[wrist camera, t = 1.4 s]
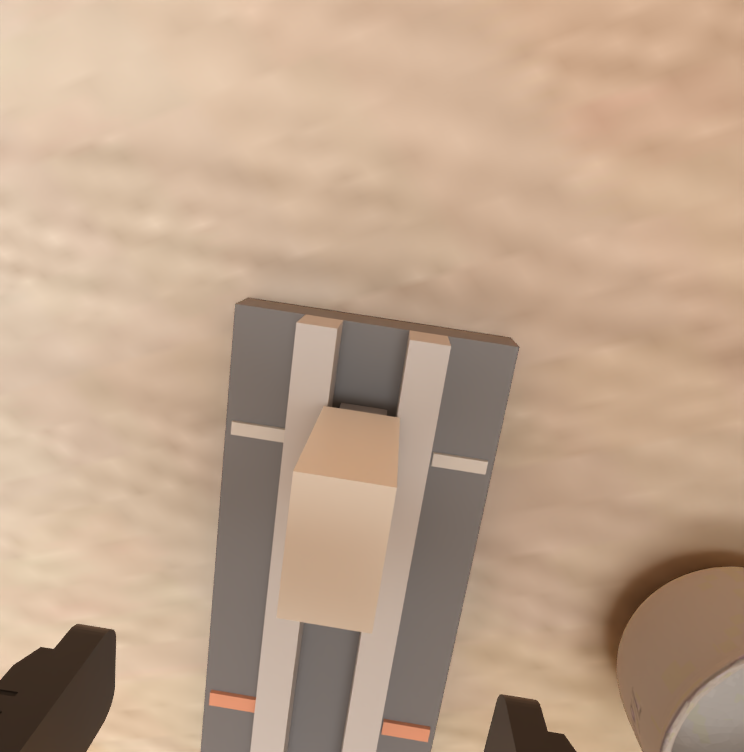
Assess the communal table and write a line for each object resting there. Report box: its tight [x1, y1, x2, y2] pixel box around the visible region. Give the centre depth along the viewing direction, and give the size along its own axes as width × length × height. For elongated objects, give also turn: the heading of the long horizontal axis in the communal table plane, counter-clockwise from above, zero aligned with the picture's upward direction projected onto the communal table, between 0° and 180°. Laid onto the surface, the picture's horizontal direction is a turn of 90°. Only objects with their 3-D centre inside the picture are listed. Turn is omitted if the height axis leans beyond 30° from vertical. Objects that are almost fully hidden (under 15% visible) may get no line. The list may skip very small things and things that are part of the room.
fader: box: [276, 403, 400, 634], centre depth 20 cm, size 3×5×8 cm, turn 172°
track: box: [201, 298, 519, 752], centre depth 27 cm, size 12×27×4 cm, turn 172°
